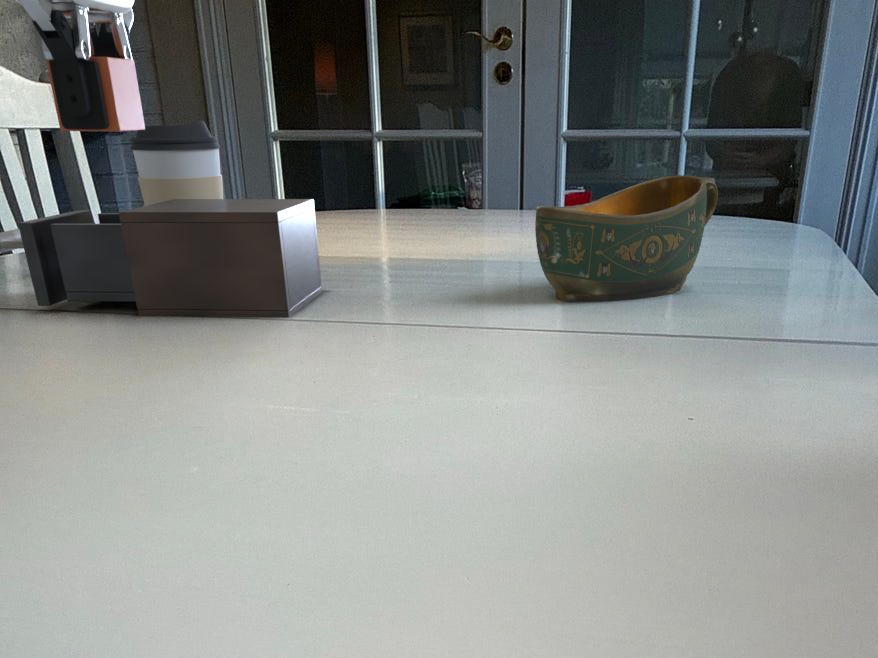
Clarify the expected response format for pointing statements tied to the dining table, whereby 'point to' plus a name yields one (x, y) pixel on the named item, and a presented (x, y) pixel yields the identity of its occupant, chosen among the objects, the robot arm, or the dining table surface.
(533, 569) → the dining table surface
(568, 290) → the creamer
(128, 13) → the robot arm
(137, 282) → the cabinet
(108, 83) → the block
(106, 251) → the drawer
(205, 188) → the coffee cup
